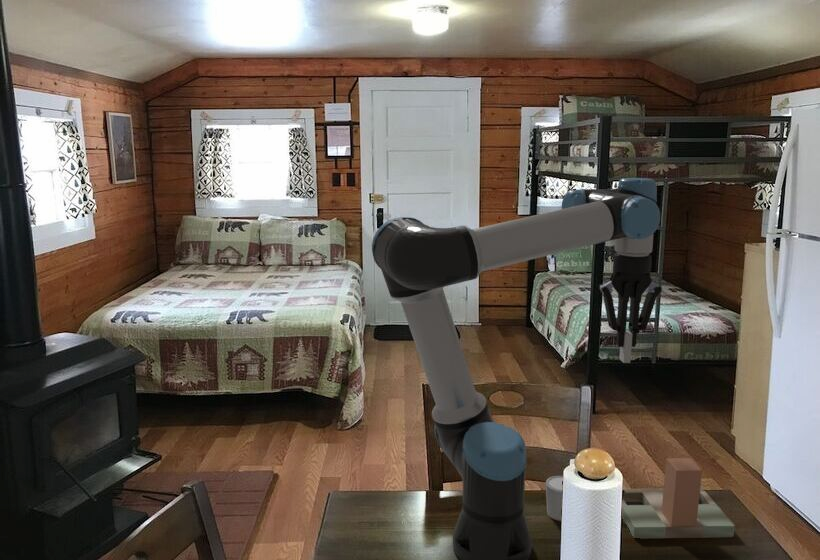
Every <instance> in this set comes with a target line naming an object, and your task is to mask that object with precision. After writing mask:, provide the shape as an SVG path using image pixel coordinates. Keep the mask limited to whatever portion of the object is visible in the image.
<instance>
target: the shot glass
mask: <svg viewBox="0 0 820 560" xmlns="http://www.w3.org/2000/svg"><path fill="white" fill-rule="evenodd" d="M562 481H563V475H554V476H550V477H548V478H547V479H546V481H545V495H546V496H545V499H546V514H547V515H548V516H549V517H550V519H553V520H555V521H559V522H562V521H561V509H562Z"/></svg>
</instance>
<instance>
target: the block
mask: <svg viewBox="0 0 820 560" xmlns="http://www.w3.org/2000/svg"><path fill="white" fill-rule="evenodd" d="M664 468H665V469H664V470H665V471H664V481H663V488H664V490H663V501H662V514H663V515H664V517H665V518H666V520H667V521H668V522H669V524H670V525H671V526H696V524H697V514H698V505H699V495H700V488H701V485H702V484H701V483H702V472H703V470H702V468H701V467H700V466H698V465H697V463H696V462H695V460H693V459H692V458H691V457H689V458H688V457H681V458H680V457H677V458H675V457H674V458H673V457H671V458H668V457H667V458H666V459H665V467H664Z"/></svg>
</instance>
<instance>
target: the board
mask: <svg viewBox="0 0 820 560" xmlns="http://www.w3.org/2000/svg"><path fill="white" fill-rule="evenodd" d="M622 489H623V490H624V491H625V493H624V496H623V500H622V518H621V520H622V519H623V520H622V522H623V523H624V522H625V523H624V525H625V524H626V525H627V527H628V528H629V530H630V532H631V533H630V532H629V533H630V535H631V534H632V535H631V537H632V536H633V537H634V538H640V539H686V538H687V539H689V538H690V539H695V538H700V539H701V538H705V539H706V538H734V535H735V526H736V525H735V524H734V523H733V521H731V519H730V518H729V517H728V516H727V515H726V513H725V512H723V510H722V509H721V507H720V506H718V504H717V503H716V502H715V501H714V500H713V499H712V497H711V496H710V495H709V494H708V493H707V492H706V490H705V489H704V488H702V487H700V495H699V505H698V514H697V524H696V526H671V525H670V524H669V522H668V521H667V520H666V518H665V517H664V515H663V514H662V501H663V490H664V487H663V488H622ZM626 525H625V526H626ZM627 527H626V528H627ZM628 528H627V529H628ZM629 530H628V531H629ZM633 537H632V538H633ZM634 538H633V539H634Z"/></svg>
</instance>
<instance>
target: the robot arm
mask: <svg viewBox="0 0 820 560" xmlns="http://www.w3.org/2000/svg"><path fill="white" fill-rule="evenodd" d="M657 186H658V185H657V182H656V180H655V179H653V178H648V177H647V178H646V177H645V178H644V177H623V178H620V179H619V181H618V185H617V188H607V189H606V188H605V189H604V188H603V189H602V188H587V189H585V188H580V189H571V190H569V191H567V192H566V193H565V194H564V196H563V198H562V202H561V209H558V210H553V211H549V212H544V213H539V214H535V215H529V216H525V217H521V218H517V219H513V220H507V221H503V222H499V223H494V224H489V225H485V226H482V227H476V228H472V229H471V228H470V227H468V226H467V225H459V226H454V227H433V226H429V225H428V224H425V223H423V222H422V221H421V220H419V219H417V218H414V217H407V216H406V217H405V216H399V217H394V218H391V219H389V220H387V221H385V222H384V223H383V224H382V225H381V226H380V227H379V228H378V229H377V230H376V232H375V234H374V235H373V238H372V242H371V253H372V257H373V260H374V262H375V264H376V266H377V267H378V268H379V269H380V270H381V272H382V275H383V278H384V282H385V284H386V287H387V290H388V293H389V295H390V297H391V298H392V299H394V300H397V301H398V302H399V303H400V304H401V306H402V309H403V312H404V315H405V318H406V322H407V324H408V326H409V331H410V333H411V336H412V338H413V341H414V344H415V347H416V351H417V353H418V357H419V358H420V361H421V365H422V368H423V371H424V374H425V377H426V380H427V383H428V385H429V389H430V392H431V395H432V397H433V400H434V403H435V405H434V407H433V409H432V411H431V417H432V421H433V423H434V424H433V425H434V427H433V428H434V429H433V430H434V436H435V439H436V442H437V444H438V446H439V448H440V450H441V451H442V452H443V453H444V454H445V455H446V457H447V458H448V460H449V461H450V463H451V464H452V465H453V467H454V468H455V470H456V471H457V472H458V474H459V476H461V480H462V507H461V510H460V513H459V516H458V519H457V522H456V524H455V527H454V529H453V533H452V548H453V551H454V554H455V555H456V556H457V557H458V558H459V560H529V558H530V556H531V554H532V541H533V539H532V535H531V532H530V530H529V526H528V523H527V520H526V516H525V514H524V507H525V505H524V504H525V490H526V489H525V488H526V487H525V486H526V469H527V467H526V466H527V461H528V460H527V459H528V458H527V457H528V456H527V453H526V451H527V450H526V443H525V440H524V438H523V436H522V435H521V434H520V433H519V432H518V431H517V429H514V428H513V427H511V426H505V425H504V424H503V423H499V422H494V420H493V417H492V414H491V411H490V407H489V405H488V401H487V399H486V397H485V395H484V394H482V393H480V392H478V391H476V389H475V388H476V387H475V385H474V381H473V379H472V376H471V373H470V370H469V366H468V363H467V361H466V357H465V353H464V351H463V348H462V344H461V342H460V338H459V334H458V332H457V329H456V325H455V322H454V320H453V316H452V313H451V310H450V307H449V304H448V300H447V297H446V294H445V291H444V287H448V286H452V285H458V284H460V283H465V282H469V281H473V280H477V279H478V277H479V276H480V274H481V273H482V272H485V271H489V270H493V269H496V268H502V267H506V266H511V265H514V264H518V263H522V262H527V261H530V260H535V259H539V258H543V257H548V256H552V255H555V254H556V255H557V254H560V253H563V252H567V251H568V252H569V251H572V250H577V249H580V248H584V247H588V246H589V247H590V246H593V245H597V244H601V243H606V242H611V241H614V249H613V250H614V251H615V253H613V260H612V261H613V263H612V274H611V276H610V278H609V281H608V282H607V283H604V284H599V285H598V289H599V290H600V293H601V294H602V297H603V303H604V307H605V312H606V318H607V325H608V327H609V328H611V330H613V331H616V342H615V343H616V345H617V346H618V347H619V356H618V357H619V358H618V359H619V361H621V362H622V363H623V364H631V357H632V348H634V347H636V345H637V335H638V334H639V333H640V331H645V330H646V329H647V327H648V324H649V321H650V319H651V316H652V312H653V309H654V307H655V302H656V300H657V297H658V296H659V295H660V293H661V292H662V291H663V288H662V287H661V286H660V285H658V284H655V283H654V282H653V279H652V277H651V270H652V255H651V254H652V252H653V245H654V233H655V232H657V231H656V230H657V229H658V227H659V225H660V222H661V211H660V208H659V207H658V206H659V205H658V204H657V202H658V199H657V198H658V197H657V196H658V195H657V194H658V193H657V191H658V188H657ZM613 289H614V290H615V292H616V293H617V299H618V300H617V303H618V304H617V313H616V310H615V309H616V308H615V305H614V304H615V303H614V300H613V296H612V293H613ZM646 290H647V292H646ZM645 292H646V295H645V298H644V301H643V303H642V308H640V307H641V302H642V295H643V294H644V293H645ZM629 302H630V303H629ZM628 306H629V315H628ZM640 309H641V310H640ZM616 314H617V315H616ZM627 319H628V325H627ZM627 326H628V329H627Z"/></svg>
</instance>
